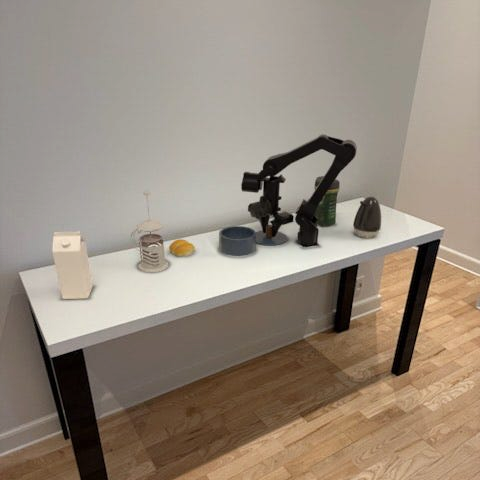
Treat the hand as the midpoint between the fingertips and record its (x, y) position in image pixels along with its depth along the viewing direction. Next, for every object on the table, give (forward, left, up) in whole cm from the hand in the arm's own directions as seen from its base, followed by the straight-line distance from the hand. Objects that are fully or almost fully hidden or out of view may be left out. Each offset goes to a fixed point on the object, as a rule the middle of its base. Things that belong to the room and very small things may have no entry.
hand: (269, 234), depth 164 cm
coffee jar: (-28, -10, -2) cm, 30 cm away
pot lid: (0, 0, -1) cm, 1 cm away
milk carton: (+68, +20, -2) cm, 71 cm away
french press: (+45, +8, -2) cm, 46 cm away
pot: (+14, +5, -2) cm, 15 cm away
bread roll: (+33, +1, -2) cm, 33 cm away
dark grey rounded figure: (-37, +7, -2) cm, 38 cm away
